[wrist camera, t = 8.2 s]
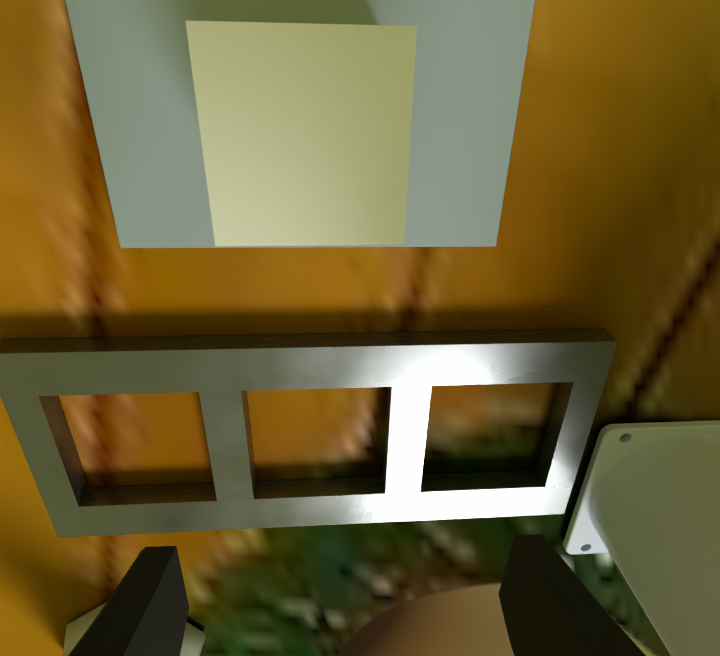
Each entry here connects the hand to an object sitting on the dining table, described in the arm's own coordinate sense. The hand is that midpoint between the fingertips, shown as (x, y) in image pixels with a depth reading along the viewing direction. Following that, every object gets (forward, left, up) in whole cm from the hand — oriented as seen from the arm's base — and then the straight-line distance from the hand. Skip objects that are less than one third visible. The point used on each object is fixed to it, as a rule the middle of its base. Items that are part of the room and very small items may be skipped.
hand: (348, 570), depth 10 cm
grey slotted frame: (+1, +3, -9) cm, 9 cm away
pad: (+1, -9, -9) cm, 12 cm away
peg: (+1, -8, -8) cm, 12 cm away
